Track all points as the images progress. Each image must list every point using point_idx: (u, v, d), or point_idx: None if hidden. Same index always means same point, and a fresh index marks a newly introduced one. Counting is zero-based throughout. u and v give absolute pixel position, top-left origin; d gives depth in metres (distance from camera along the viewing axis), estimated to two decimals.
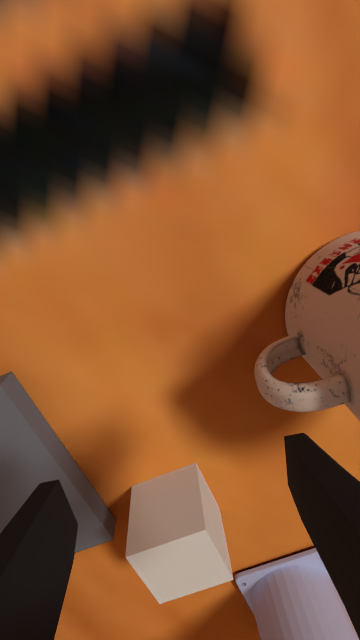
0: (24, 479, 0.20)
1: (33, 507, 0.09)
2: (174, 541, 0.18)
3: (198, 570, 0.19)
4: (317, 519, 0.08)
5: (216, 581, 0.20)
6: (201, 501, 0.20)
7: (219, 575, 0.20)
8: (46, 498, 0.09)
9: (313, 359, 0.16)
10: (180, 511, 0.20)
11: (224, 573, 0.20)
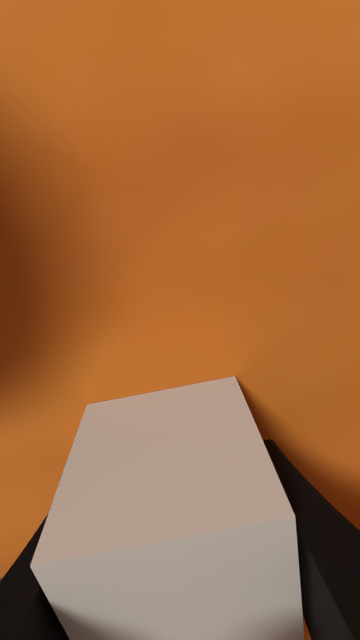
0: None
1: None
2: (66, 626, 0.07)
3: (208, 589, 0.07)
4: None
5: (279, 555, 0.06)
6: (62, 483, 0.08)
7: (257, 546, 0.06)
8: None
9: None
10: None
11: (252, 536, 0.06)
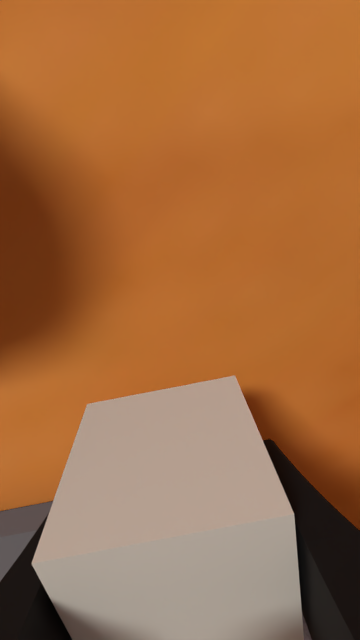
0: None
1: None
2: (67, 623, 0.07)
3: (208, 587, 0.07)
4: None
5: (279, 553, 0.06)
6: (63, 481, 0.08)
7: (257, 545, 0.06)
8: None
9: None
10: None
11: (252, 534, 0.06)
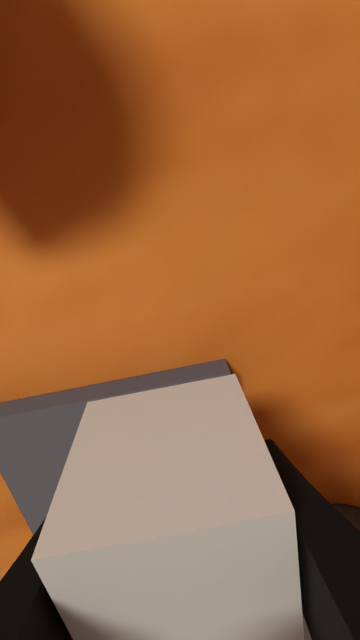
0: None
1: None
2: (66, 621, 0.07)
3: (208, 584, 0.07)
4: None
5: (279, 549, 0.06)
6: (63, 479, 0.08)
7: (256, 541, 0.06)
8: None
9: None
10: None
11: (252, 531, 0.06)
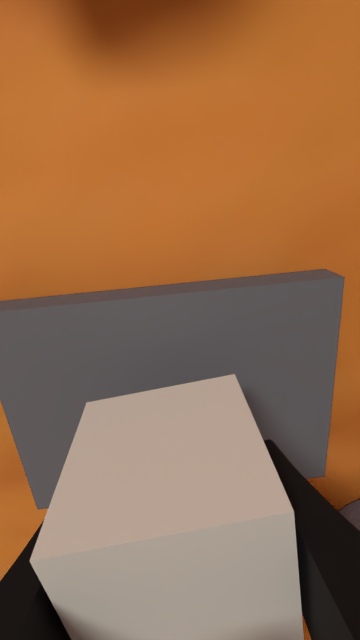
0: (154, 356, 0.13)
1: None
2: (65, 622, 0.07)
3: (207, 585, 0.07)
4: None
5: (279, 550, 0.06)
6: (62, 479, 0.08)
7: (256, 542, 0.06)
8: None
9: None
10: None
11: (251, 532, 0.06)
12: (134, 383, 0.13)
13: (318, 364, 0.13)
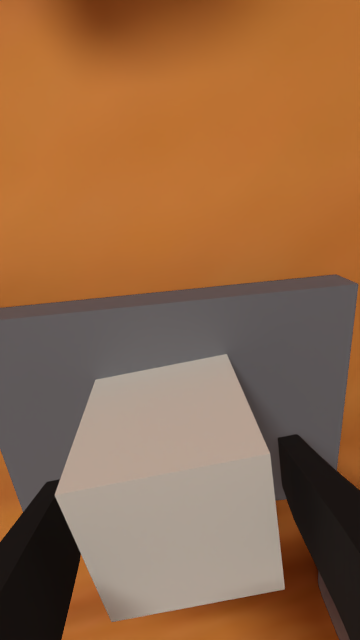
0: None
1: (40, 506, 0.09)
2: (82, 551, 0.08)
3: (200, 519, 0.08)
4: (310, 520, 0.08)
5: (259, 488, 0.08)
6: (77, 438, 0.09)
7: (239, 481, 0.07)
8: (53, 497, 0.09)
9: None
10: None
11: (235, 471, 0.07)
12: None
13: (329, 376, 0.13)
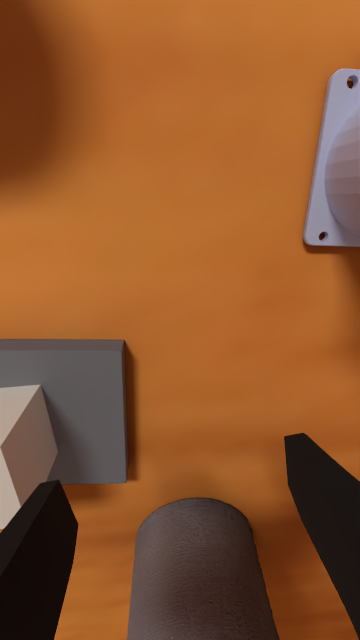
0: None
1: (33, 507, 0.09)
2: None
3: None
4: (317, 519, 0.08)
5: None
6: None
7: None
8: (46, 498, 0.09)
9: None
10: None
11: None
12: None
13: (110, 405, 0.19)
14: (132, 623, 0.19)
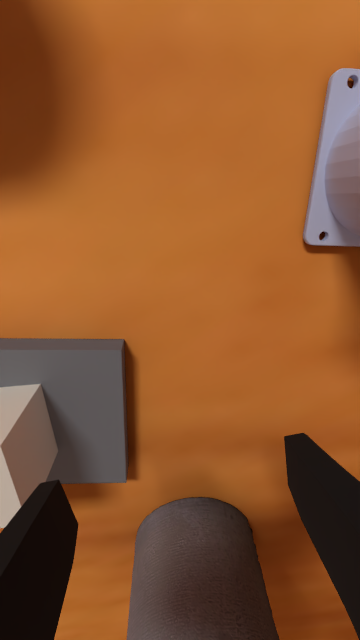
0: None
1: (33, 507, 0.09)
2: None
3: None
4: (317, 519, 0.08)
5: None
6: None
7: None
8: (46, 498, 0.09)
9: None
10: None
11: None
12: None
13: (110, 404, 0.19)
14: (132, 622, 0.20)
